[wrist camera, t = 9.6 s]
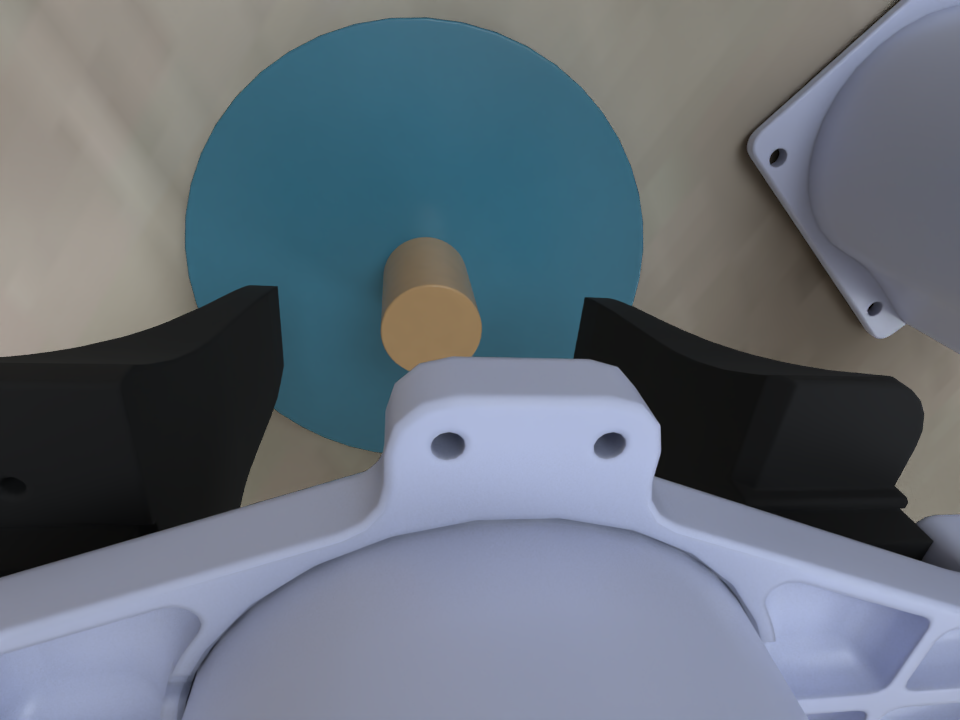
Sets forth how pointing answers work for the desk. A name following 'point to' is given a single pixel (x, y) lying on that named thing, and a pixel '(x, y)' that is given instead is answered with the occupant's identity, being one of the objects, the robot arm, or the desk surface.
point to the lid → (411, 211)
